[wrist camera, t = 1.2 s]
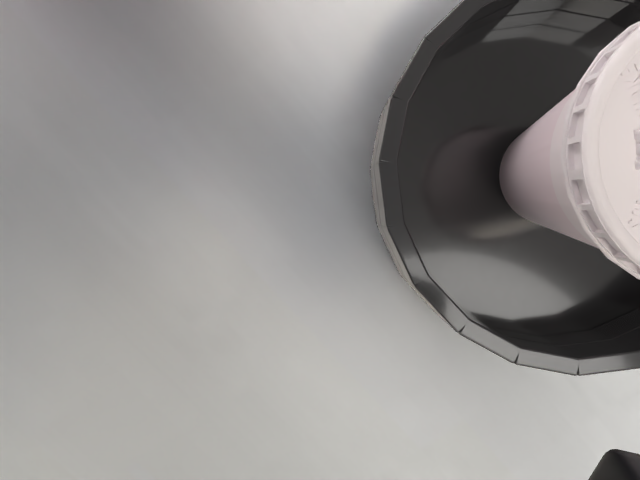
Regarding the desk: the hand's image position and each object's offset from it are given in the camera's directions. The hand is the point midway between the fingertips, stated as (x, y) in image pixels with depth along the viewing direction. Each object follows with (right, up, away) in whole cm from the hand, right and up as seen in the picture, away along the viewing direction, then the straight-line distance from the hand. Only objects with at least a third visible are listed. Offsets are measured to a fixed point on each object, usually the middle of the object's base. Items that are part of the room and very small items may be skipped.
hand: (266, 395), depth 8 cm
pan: (+9, +4, +14) cm, 18 cm away
